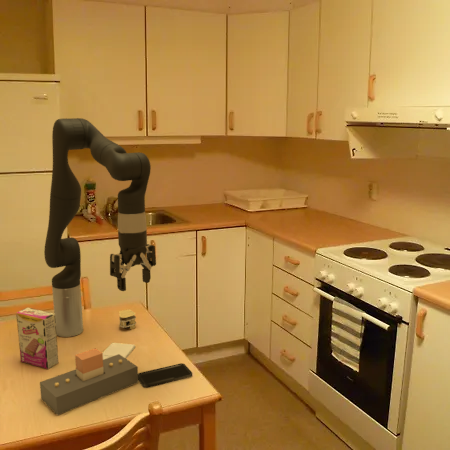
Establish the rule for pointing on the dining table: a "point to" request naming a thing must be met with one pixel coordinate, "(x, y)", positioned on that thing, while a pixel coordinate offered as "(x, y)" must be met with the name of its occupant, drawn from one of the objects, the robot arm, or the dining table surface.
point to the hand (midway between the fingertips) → (134, 286)
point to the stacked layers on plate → (127, 318)
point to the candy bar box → (37, 337)
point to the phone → (164, 375)
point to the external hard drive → (118, 350)
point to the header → (88, 385)
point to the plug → (89, 364)
